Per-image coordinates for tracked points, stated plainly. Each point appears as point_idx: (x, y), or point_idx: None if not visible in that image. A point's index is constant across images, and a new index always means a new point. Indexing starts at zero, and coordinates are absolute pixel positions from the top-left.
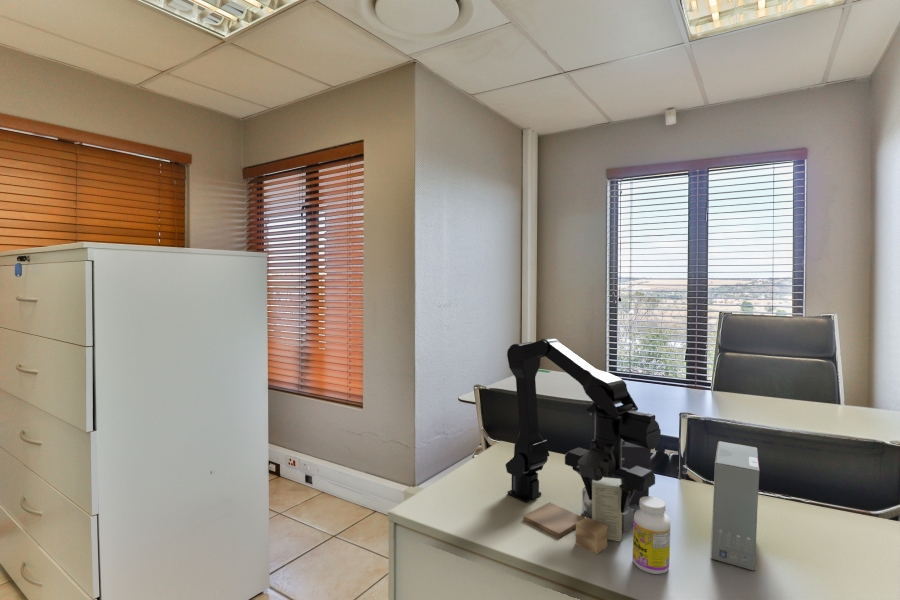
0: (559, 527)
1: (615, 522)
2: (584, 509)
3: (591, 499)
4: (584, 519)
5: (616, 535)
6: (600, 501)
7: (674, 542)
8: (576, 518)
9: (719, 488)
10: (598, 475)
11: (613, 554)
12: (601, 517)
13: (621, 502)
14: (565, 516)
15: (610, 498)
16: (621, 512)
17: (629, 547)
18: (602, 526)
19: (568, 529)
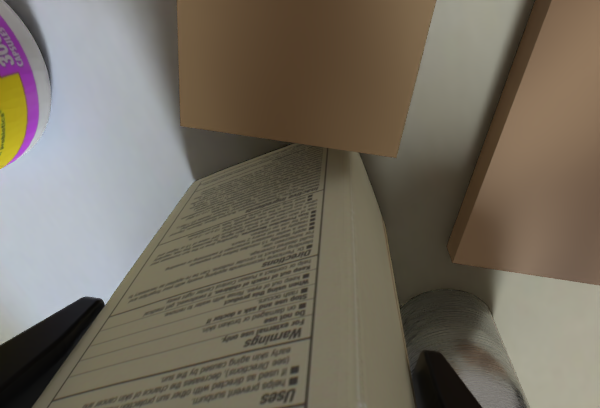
0: (598, 31)
1: (184, 231)
2: (481, 326)
3: (420, 358)
4: (396, 102)
5: (206, 188)
6: (255, 310)
7: (41, 316)
8: (502, 228)
9: None
10: None
11: (153, 20)
12: (273, 209)
13: (12, 373)
14: (584, 208)
15: (131, 384)
16: (99, 299)
17: (137, 159)
18: (208, 93)
19: (518, 72)
